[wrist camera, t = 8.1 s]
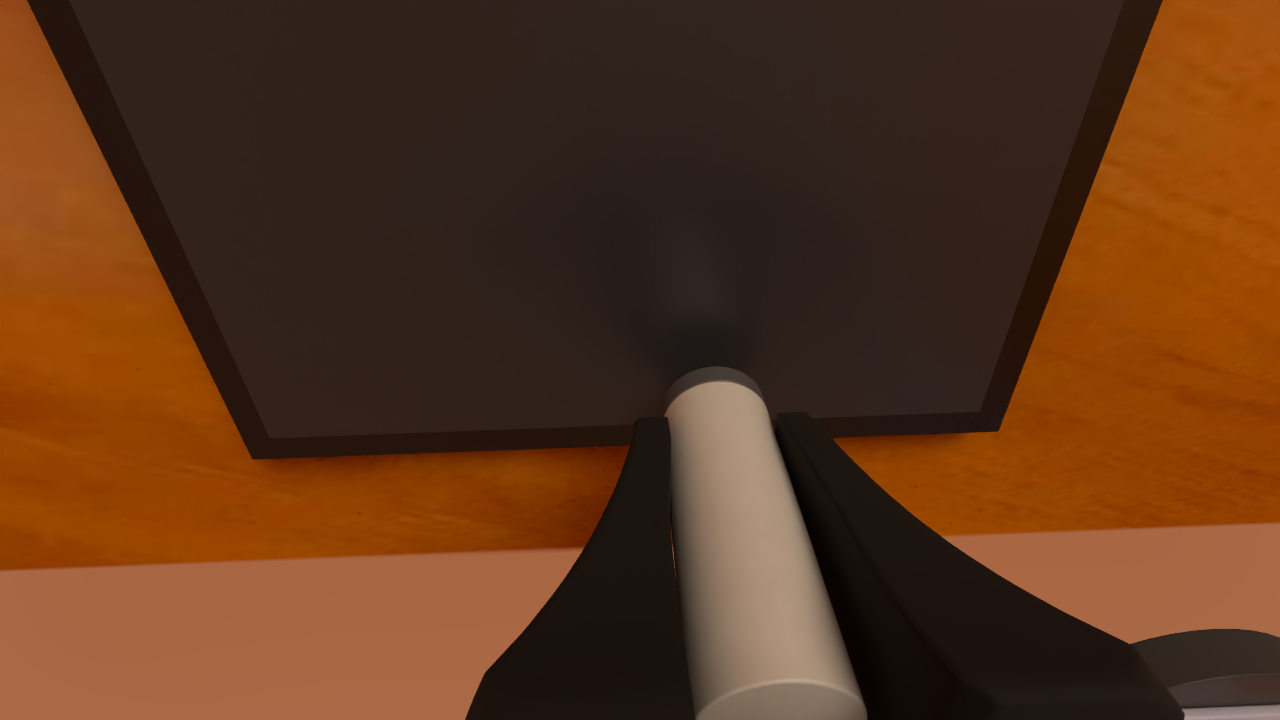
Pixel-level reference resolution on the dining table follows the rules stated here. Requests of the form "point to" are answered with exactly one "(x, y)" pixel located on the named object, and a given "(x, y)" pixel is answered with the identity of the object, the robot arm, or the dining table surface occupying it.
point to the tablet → (600, 203)
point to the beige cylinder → (748, 564)
